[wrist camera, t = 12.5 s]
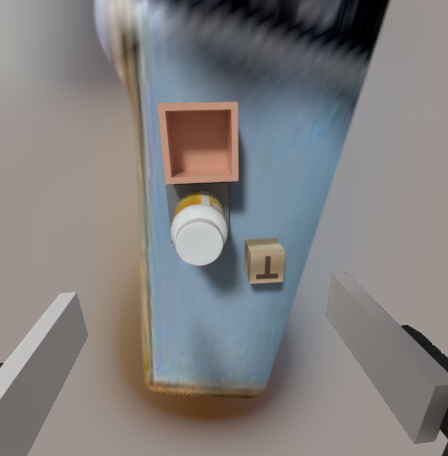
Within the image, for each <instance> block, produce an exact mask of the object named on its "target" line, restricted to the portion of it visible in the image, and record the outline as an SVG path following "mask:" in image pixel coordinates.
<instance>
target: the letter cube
mask: <svg viewBox="0 0 448 456" xmlns="http://www.w3.org/2000/svg"><path fill="white" fill-rule="evenodd" d="M284 263H285V250H284V249H283V247H282V246H281V245H280V243H279V242H278V241H277V239H276V238H272V239H250V240H245V262H244V268H245V271H246V274H247V277H248V280H249V282H250V284H254V283H271V282H283V276H284Z"/></svg>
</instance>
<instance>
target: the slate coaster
mask: <svg viewBox="0 0 448 456" xmlns="http://www.w3.org/2000/svg"><path fill="white" fill-rule="evenodd" d="M166 189H167V199H168V209H169V219H170V228H171V225H172V221H173V218H174V215H175V211H176V207H177V205H178V203H179V201H180V200H181V198H182V197H183V196H185V195H186V194H188V193H190V192H192V191H197V190H202V191H207V192H209V193H211V194H213V195H214V196H215V197H216V198H217V199H218V200H219V202H220V204H221V206H222V209H223V213H224V216H225V219H226V223H227V227H228V236H227V240H229V239H230V237H229V189H228V182H214V183H192V184H170V185H166ZM172 243H173V241H172Z"/></svg>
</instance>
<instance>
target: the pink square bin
mask: <svg viewBox="0 0 448 456" xmlns="http://www.w3.org/2000/svg"><path fill="white" fill-rule="evenodd" d="M157 106H158V115H159V125H160V134H161V144H162V154H163V163H164V173H165V183H166V184H183V183H205V182H227V181H238V102H201V103H157Z"/></svg>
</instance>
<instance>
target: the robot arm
mask: <svg viewBox="0 0 448 456" xmlns="http://www.w3.org/2000/svg"><path fill="white" fill-rule="evenodd" d="M326 315H327V317H328V319H329V320H330V322H331V323H332V325H333V326H334V327H335V329H336V330H337V332H338V333H339V335H340V336H341V338H342V339H343V341H344V342H345V343H346V345H347V346H348V348H349V349H350V351H351V352H352V354H353V355H354V357H355V358H356V360H357V361H358V362H359V364H360V365H361V367H362V368H363V370H364V371H365V373H366V374H367V376H368V377H369V379H370V380H371V382H372V383H373V384H374V386H375V387H376V389H377V390H378V392H379V393H380V395H381V396H382V398H383V399H384V401H385V402H386V404H387V405H388V406H389V408H390V409H391V411H392V412H393V414H394V415H395V417H396V418H397V420H398V421H399V423H400V424H401V425H402V427H403V428H404V430H405V431H406V433H407V434H408V436H409V437H410V439H411V440H412V442H413V443H414V444H418V443H426V442H433V441H435V440H436V438H437V435H438V433H439V430H441V431H442V432H443V433H444V435H445V436H446V437H447V439H448V358H447V357H446V356H445V355H444V354H442V353H441V351H440V350H439V349H438V348H437V347H435V346H434V345H432V343H431V342H430V341H429V340H428V339H427V338H426V337H425V336H424V335H422V334H421V333H420V332H418V331H416V330H415V329H413V328H411V327H409V326H408V325H403V326H400V325H399V324H398V323H397V322H396V321H395V320H394V319H393V318H392V317H391V316H390V315H389V314H388V313H387V312H386V311H385V310H384V309H383V308H382V307H380V305H378V303H377V302H375V301H374V300H373V299H372V298H371V297H370V296H369V295H368V294H367V293H366V292H365V291H364V290H363V289H362V288H361V287H360V286H359V285H358V284H357V283H356V282H355V281H354V280H353V279H352V278H351V277H350V276H349V275H348V274H347V273H345V272H344V273H332V279H331V285H330V292H329V300H328V307H327V314H326ZM87 337H88V333H87V329H86V326H85V322H84V318H83V314H82V310H81V307H80V303H79V299H78V295H77V292H70V293H60V294H59V296H58V297H57V298H56V300H55V301H54V302H53V303H52V304H51V306H50V307H49V308H48V309H47V311H46V312H45V313H44V314H43V316H42V317H41V318H40V319H39V321H38V322H37V323H36V324H35V326H34V327H33V328H32V329H31V330H30V332H29V333H28V334H27V335H26V337H25V338H24V339H23V340H22V342H21V343H20V344H19V346H18V347H17V348H16V349H15V350H14V352H13V353H12V354H11V355H10V357H9V358H8V359H7V360H6V362H5V363H0V456H27V455H28V453H29V451H30V449H31V447H32V445H33V443H34V441H35V439H36V437H37V435H38V433H39V431H40V429H41V427H42V425H43V423H44V421H45V419H46V418H47V415H48V414H49V411H50V409H51V408H52V406H53V404H54V402H55V400H56V398H57V396H58V394H59V392H60V390H61V388H62V386H63V384H64V382H65V380H66V378H67V376H68V374H69V372H70V370H71V369H72V367H73V365H74V363H75V361H76V359H77V357H78V355H79V353H80V351H81V349H82V347H83V345H84V343H85V341H86V339H87ZM442 456H448V443H447V445H446V447H445V450H444V452H443V454H442Z"/></svg>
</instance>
